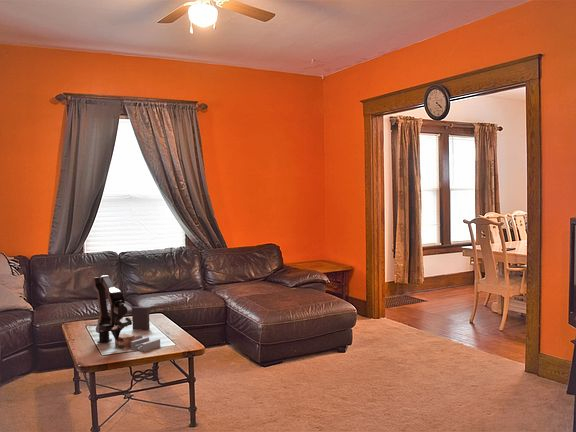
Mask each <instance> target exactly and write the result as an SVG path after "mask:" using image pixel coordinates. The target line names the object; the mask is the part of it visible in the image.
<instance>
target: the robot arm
mask: <svg viewBox="0 0 576 432" xmlns="http://www.w3.org/2000/svg"><path fill="white" fill-rule="evenodd" d="M91 284H92V286H93V287H92V288H93V290H94V291H95V292H96V293H97V303H98V310H99V317H98V319H97V325H96V326H95V332H96V333H97V334H99V335H98V337H99V339H98V341H96V343H97V344H99V343H100V344H108V343H109V342H111V341H112V339H110V332H111V334H112V336H113V338H114V341H115V340H118V337H119V335H120V334H121V331H122V330H123V329H124V328H127V327H129V326H133V323H132V319H131V317H129V316H128V317H127V316H126V317H124V316H125V315H127V313H128V307H127V306H125V303H126V299H125V297H124V295H123V292H122V291H121V290H120V289H119V288H116V286H115V285H114V283H113V282H112V280H111V279H110V276H109V275H108V274H107V275H101V276H98V277H93V279H91ZM106 293H107V295H106ZM107 299H108V302H109V305H110V307H109V309H110V314H109V311H108V305H107Z"/></svg>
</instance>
